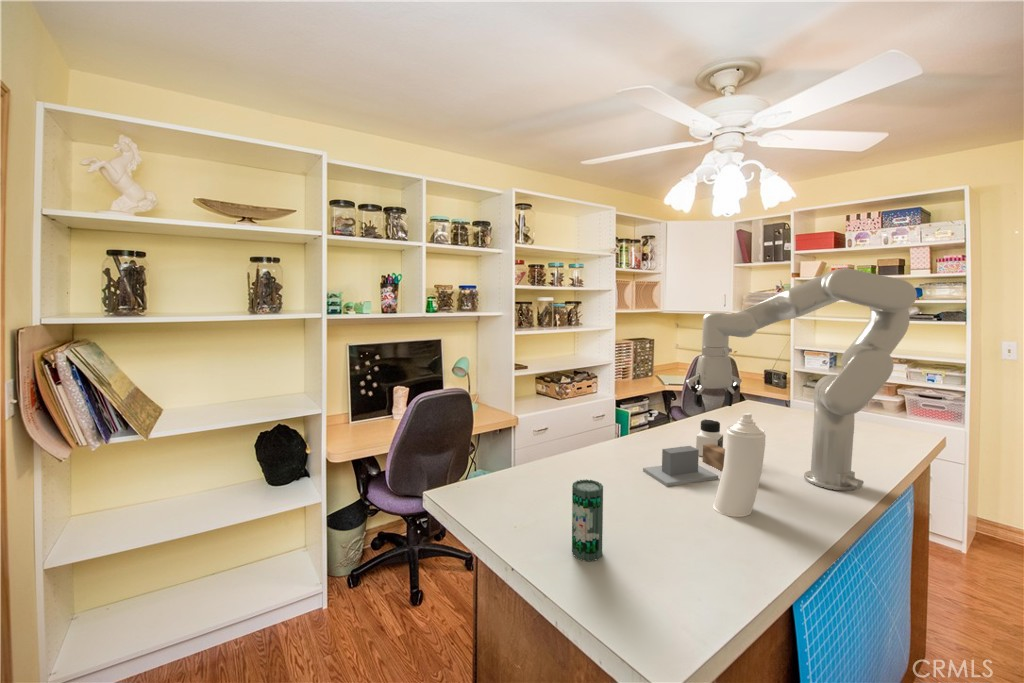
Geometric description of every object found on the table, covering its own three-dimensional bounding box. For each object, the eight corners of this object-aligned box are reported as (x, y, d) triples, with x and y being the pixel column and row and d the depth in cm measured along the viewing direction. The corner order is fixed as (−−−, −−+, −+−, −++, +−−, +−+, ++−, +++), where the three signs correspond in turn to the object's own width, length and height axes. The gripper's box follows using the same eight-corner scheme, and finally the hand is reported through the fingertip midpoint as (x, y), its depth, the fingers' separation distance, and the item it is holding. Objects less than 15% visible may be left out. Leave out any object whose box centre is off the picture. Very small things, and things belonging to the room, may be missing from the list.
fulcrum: (718, 478, 135) (719, 452, 135) (666, 486, 130) (667, 459, 129) (691, 464, 147) (692, 440, 146) (643, 471, 142) (643, 446, 141)
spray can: (721, 494, 124) (725, 405, 122) (764, 506, 118) (769, 411, 115) (708, 510, 115) (712, 414, 113) (755, 523, 109) (760, 421, 106)
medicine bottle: (717, 459, 151) (719, 424, 150) (695, 455, 155) (696, 421, 154) (722, 453, 157) (724, 419, 155) (701, 449, 161) (702, 416, 160)
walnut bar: (755, 482, 133) (756, 462, 133) (744, 484, 132) (745, 464, 131) (712, 461, 150) (713, 443, 150) (702, 462, 149) (703, 444, 149)
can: (567, 554, 96) (567, 486, 95) (581, 542, 101) (582, 477, 99) (593, 564, 92) (593, 494, 91) (606, 551, 97) (607, 484, 96)
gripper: (735, 350, 146) (733, 402, 148) (682, 351, 145) (681, 403, 147) (748, 353, 139) (746, 407, 140) (693, 354, 138) (691, 409, 139)
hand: (713, 405), depth 143 cm, fingers open, 9 cm apart
